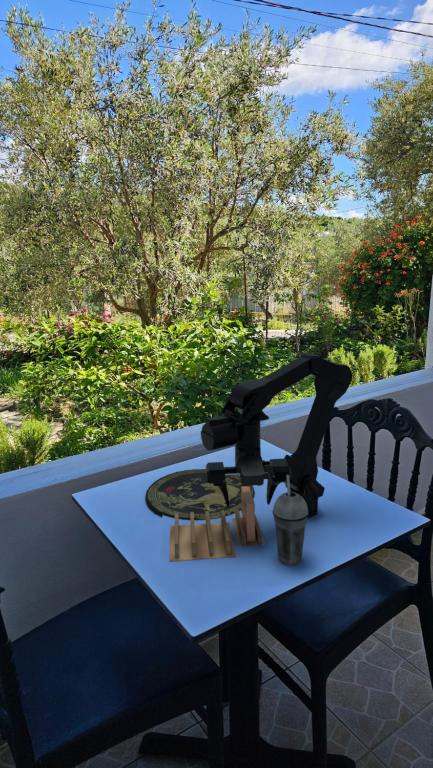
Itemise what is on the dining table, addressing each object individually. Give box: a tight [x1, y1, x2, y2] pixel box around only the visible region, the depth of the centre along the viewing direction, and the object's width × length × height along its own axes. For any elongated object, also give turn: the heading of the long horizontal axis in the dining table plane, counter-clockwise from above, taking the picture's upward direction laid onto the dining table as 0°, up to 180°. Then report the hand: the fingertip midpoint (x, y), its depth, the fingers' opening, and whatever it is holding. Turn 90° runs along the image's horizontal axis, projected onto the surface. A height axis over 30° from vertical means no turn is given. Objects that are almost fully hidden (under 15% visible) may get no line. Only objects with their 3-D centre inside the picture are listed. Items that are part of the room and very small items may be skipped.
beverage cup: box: [272, 475, 309, 567], centre depth 96 cm, size 7×7×20 cm
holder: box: [232, 509, 266, 547], centre depth 109 cm, size 6×12×3 cm, turn 5°
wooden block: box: [240, 486, 256, 542], centre depth 108 cm, size 2×9×9 cm, turn 5°
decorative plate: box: [144, 468, 256, 521], centre depth 128 cm, size 30×2×30 cm
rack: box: [168, 510, 237, 563], centre depth 105 cm, size 14×14×4 cm
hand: (248, 505), depth 107 cm, fingers open, 9 cm apart
